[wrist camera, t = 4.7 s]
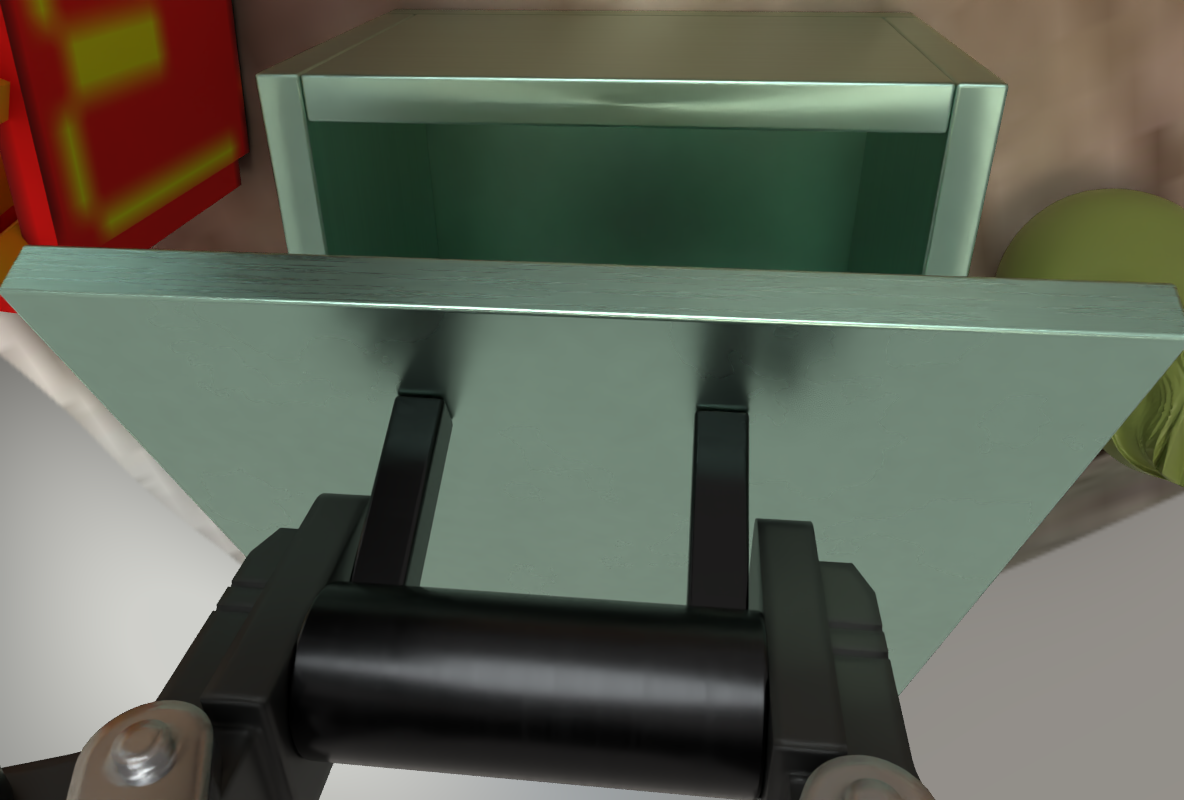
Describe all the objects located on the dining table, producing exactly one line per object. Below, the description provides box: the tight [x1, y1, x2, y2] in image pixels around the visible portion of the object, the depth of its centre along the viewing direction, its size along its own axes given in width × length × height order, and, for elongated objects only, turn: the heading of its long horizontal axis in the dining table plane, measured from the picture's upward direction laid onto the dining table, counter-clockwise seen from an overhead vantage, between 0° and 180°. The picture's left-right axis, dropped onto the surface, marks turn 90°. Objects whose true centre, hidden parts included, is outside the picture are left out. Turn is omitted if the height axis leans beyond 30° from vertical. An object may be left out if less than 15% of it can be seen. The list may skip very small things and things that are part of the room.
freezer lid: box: [0, 245, 1184, 800], centre depth 16 cm, size 16×14×5 cm
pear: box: [995, 189, 1184, 487], centre depth 22 cm, size 6×5×10 cm
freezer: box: [255, 9, 1008, 276], centre depth 24 cm, size 15×14×9 cm
